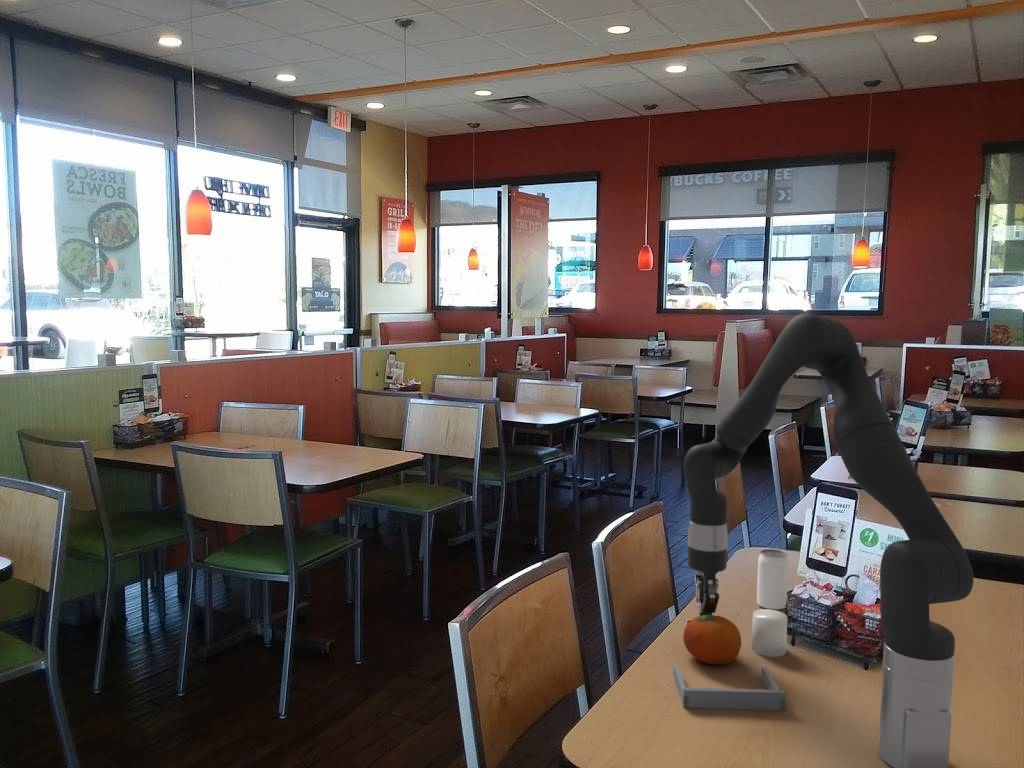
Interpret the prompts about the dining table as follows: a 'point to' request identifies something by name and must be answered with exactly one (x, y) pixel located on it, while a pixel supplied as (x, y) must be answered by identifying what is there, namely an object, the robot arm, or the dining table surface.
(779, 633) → the white rounded cube
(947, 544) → the robot arm
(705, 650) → the fruit
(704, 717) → the dining table surface
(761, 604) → the can
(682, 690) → the grey u-shaped bracket
